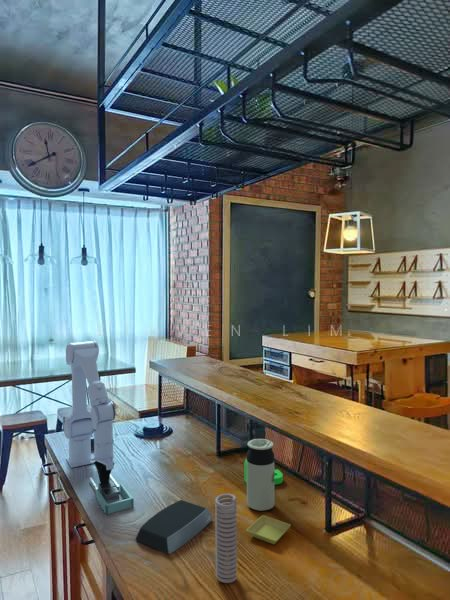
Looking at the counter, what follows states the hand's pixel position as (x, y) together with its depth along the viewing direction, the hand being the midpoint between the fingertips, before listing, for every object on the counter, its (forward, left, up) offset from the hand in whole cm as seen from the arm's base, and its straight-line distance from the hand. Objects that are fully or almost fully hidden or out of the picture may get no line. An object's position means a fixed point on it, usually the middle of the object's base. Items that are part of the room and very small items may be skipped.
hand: (104, 483), depth 137 cm
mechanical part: (+23, +46, -2) cm, 51 cm away
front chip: (+7, 0, -1) cm, 7 cm away
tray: (+11, 0, -1) cm, 11 cm away
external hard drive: (+33, +10, -2) cm, 34 cm away
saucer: (+47, +29, -2) cm, 56 cm away
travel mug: (+34, +36, -1) cm, 50 cm away
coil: (+56, +12, -1) cm, 57 cm away
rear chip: (+3, 0, -1) cm, 3 cm away
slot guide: (0, 0, -1) cm, 1 cm away
